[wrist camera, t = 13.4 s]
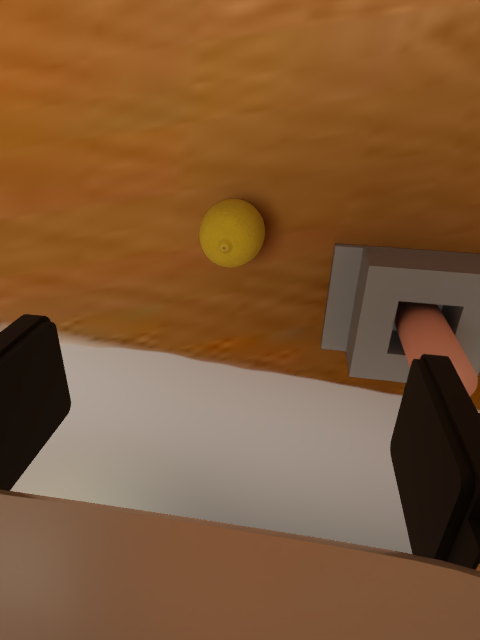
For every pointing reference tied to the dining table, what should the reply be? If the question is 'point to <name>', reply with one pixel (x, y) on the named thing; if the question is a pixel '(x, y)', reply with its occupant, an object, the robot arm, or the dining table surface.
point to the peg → (432, 338)
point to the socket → (382, 301)
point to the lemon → (232, 233)
